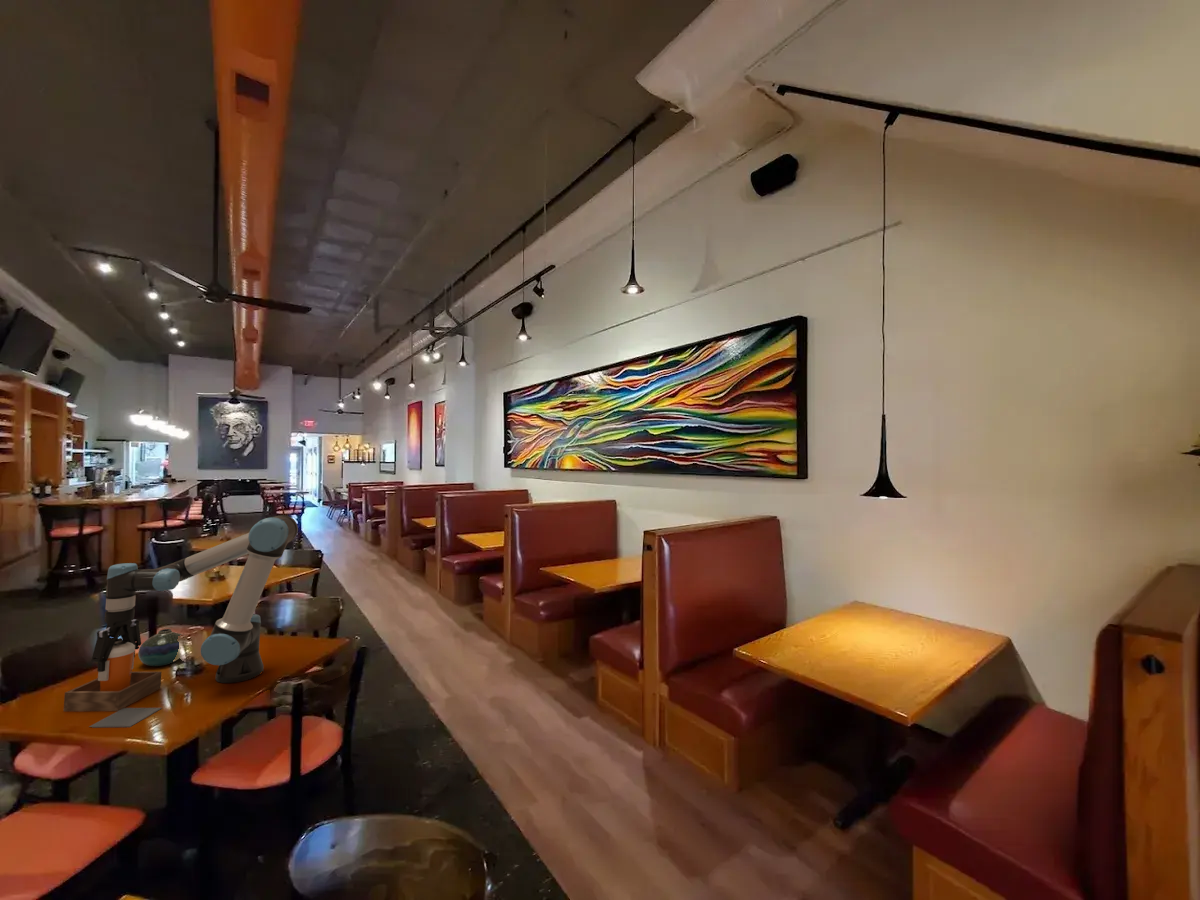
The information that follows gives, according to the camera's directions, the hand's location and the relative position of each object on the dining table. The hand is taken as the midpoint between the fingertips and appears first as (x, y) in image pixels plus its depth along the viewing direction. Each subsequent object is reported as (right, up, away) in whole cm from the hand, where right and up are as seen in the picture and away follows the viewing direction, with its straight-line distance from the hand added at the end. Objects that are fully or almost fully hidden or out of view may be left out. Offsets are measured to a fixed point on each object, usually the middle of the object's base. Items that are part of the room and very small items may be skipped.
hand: (116, 674), depth 172 cm
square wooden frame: (0, -8, 0) cm, 8 cm away
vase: (-11, -10, +31) cm, 34 cm away
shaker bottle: (0, -9, 0) cm, 9 cm away
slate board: (+16, -8, -12) cm, 22 cm away
